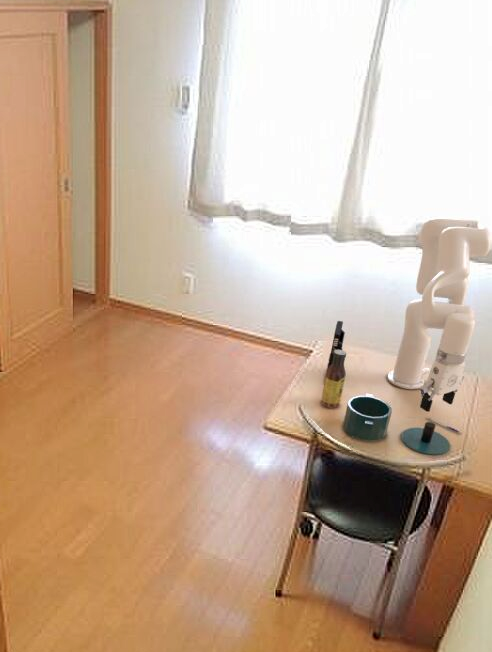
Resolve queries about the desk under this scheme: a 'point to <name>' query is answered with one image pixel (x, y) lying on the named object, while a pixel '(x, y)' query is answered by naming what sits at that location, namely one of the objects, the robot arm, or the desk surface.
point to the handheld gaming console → (336, 341)
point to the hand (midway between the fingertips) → (435, 405)
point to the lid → (426, 440)
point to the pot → (367, 417)
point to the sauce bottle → (334, 380)
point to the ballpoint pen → (446, 426)
